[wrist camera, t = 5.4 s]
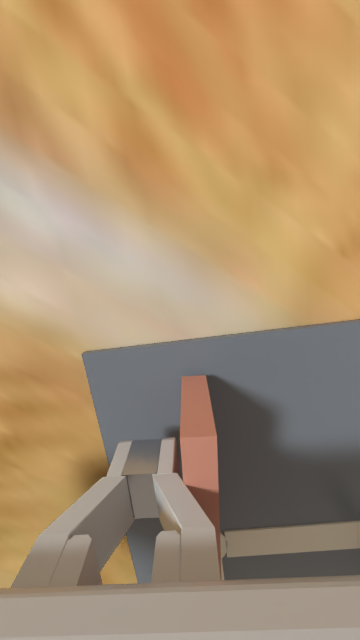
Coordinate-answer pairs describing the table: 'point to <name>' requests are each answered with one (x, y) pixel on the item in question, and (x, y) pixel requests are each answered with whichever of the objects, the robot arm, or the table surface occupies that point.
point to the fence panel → (200, 449)
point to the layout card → (253, 441)
